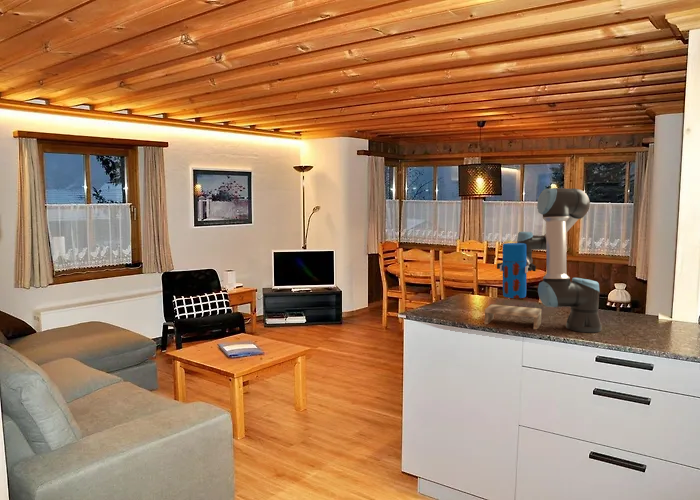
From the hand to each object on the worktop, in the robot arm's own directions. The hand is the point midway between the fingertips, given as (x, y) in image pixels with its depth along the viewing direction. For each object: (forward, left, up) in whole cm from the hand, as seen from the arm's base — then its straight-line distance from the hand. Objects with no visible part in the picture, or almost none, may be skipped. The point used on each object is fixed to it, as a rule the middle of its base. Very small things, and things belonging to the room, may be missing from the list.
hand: (513, 269), depth 260 cm
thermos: (+2, -4, -14) cm, 14 cm away
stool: (+2, -3, -27) cm, 27 cm away
